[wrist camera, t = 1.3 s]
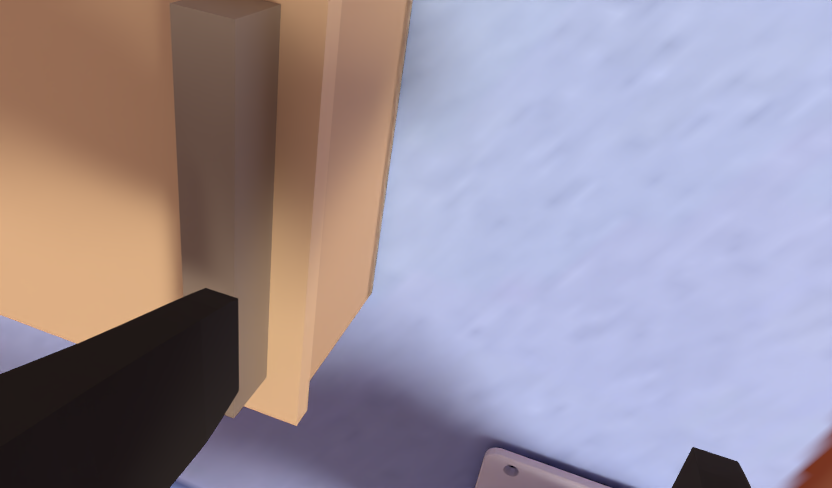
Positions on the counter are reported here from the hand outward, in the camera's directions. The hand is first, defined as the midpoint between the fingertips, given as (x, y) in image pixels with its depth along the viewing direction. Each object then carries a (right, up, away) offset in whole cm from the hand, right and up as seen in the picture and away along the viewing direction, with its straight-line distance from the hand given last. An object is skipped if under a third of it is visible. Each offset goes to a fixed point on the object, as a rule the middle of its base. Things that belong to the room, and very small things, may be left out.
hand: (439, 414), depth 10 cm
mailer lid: (-8, +5, +5) cm, 11 cm away
